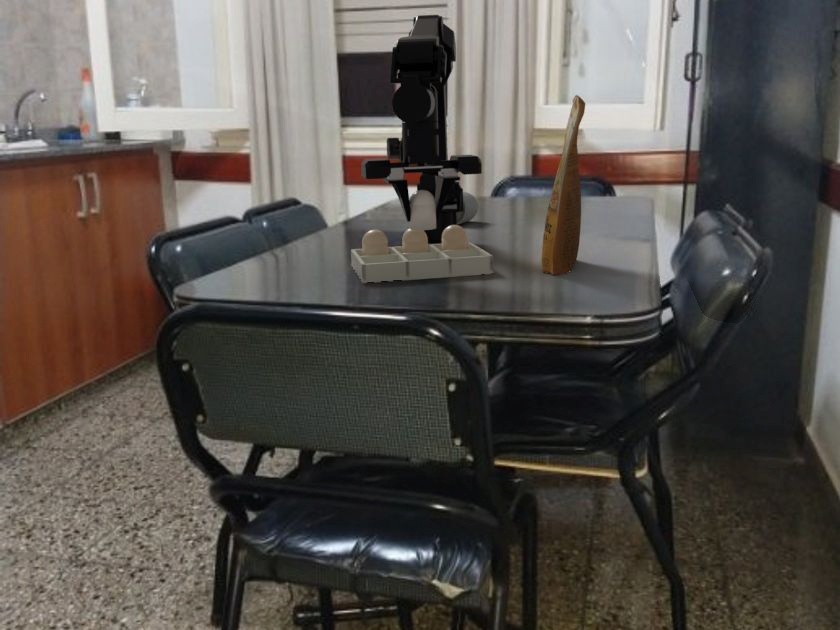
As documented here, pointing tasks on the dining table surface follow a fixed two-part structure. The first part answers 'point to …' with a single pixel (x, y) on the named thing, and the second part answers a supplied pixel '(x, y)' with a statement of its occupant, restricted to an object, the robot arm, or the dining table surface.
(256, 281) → the dining table surface
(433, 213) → the egg
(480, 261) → the carton
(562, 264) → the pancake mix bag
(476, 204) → the ceramic mug
